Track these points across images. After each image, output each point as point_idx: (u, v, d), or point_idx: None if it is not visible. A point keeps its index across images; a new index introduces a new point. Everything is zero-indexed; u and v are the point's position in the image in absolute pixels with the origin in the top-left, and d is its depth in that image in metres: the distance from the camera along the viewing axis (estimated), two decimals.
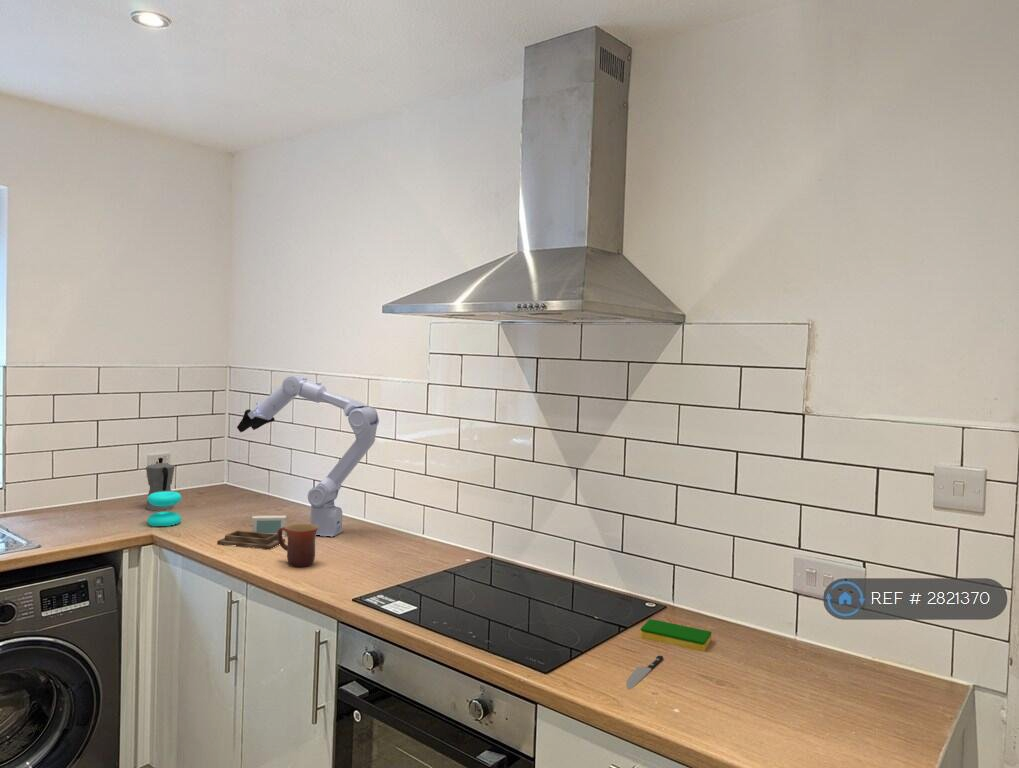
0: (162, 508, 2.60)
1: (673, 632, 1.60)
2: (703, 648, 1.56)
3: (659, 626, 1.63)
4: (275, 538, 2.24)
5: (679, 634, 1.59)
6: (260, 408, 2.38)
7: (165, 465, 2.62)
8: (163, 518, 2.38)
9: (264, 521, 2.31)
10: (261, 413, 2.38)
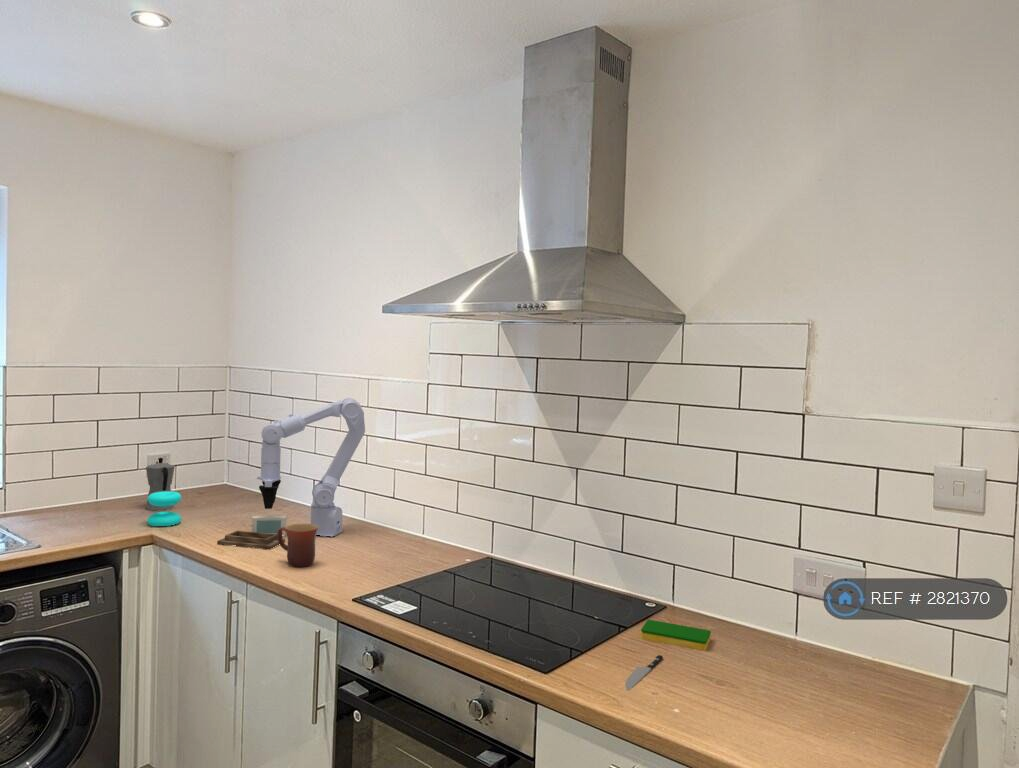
0: (162, 508, 2.60)
1: (674, 632, 1.60)
2: (705, 647, 1.56)
3: (659, 626, 1.63)
4: (275, 538, 2.24)
5: (680, 634, 1.59)
6: (266, 476, 2.30)
7: (165, 465, 2.62)
8: (163, 518, 2.38)
9: (264, 521, 2.31)
10: (271, 478, 2.30)
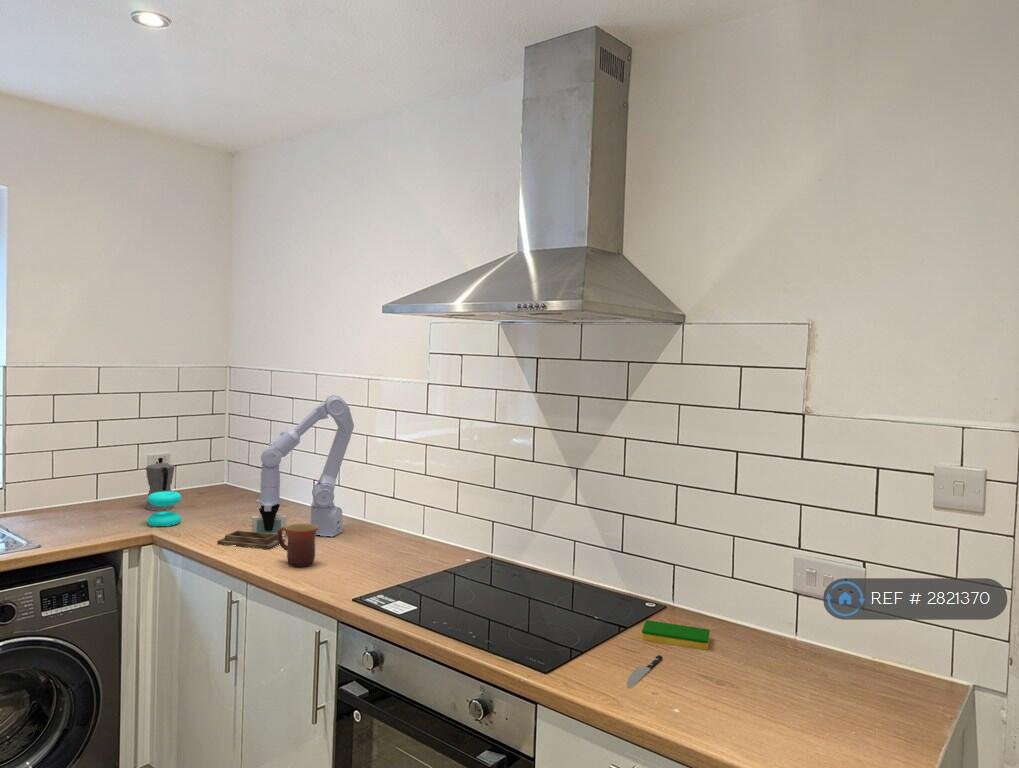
0: (162, 508, 2.60)
1: (674, 632, 1.60)
2: (706, 647, 1.56)
3: (659, 627, 1.63)
4: (275, 538, 2.24)
5: (681, 634, 1.59)
6: (265, 500, 2.30)
7: (165, 465, 2.62)
8: (163, 518, 2.38)
9: None
10: (270, 502, 2.30)
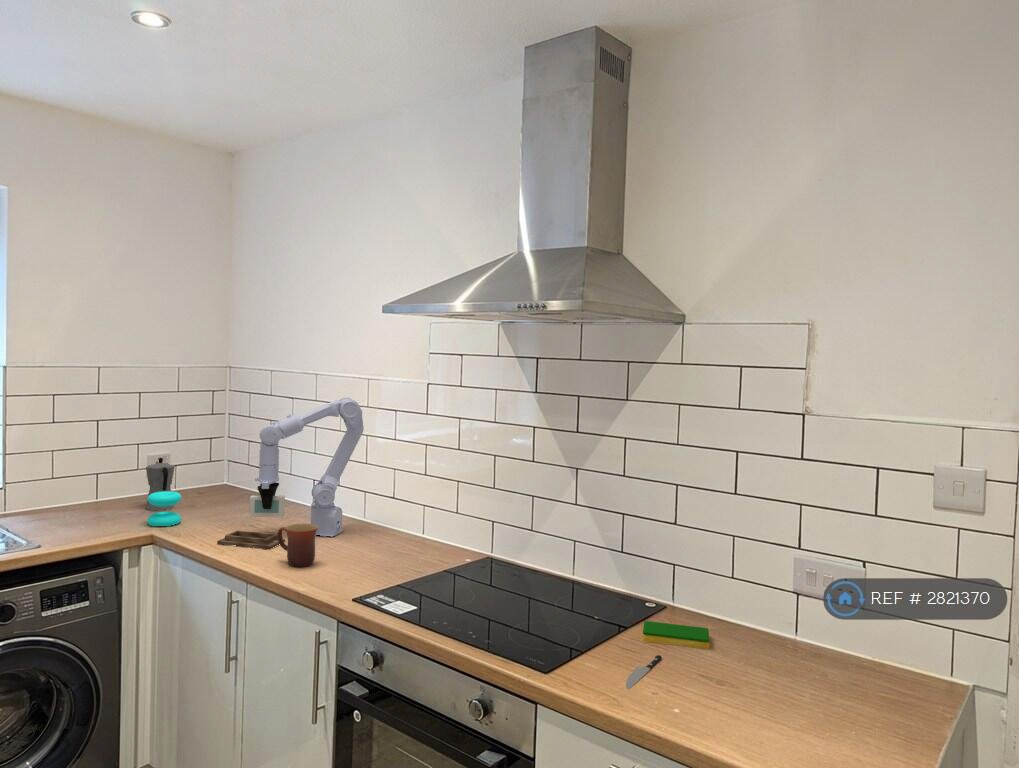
0: (162, 508, 2.60)
1: (675, 632, 1.60)
2: (708, 646, 1.57)
3: (658, 627, 1.62)
4: (275, 538, 2.24)
5: (682, 634, 1.59)
6: (264, 478, 2.29)
7: (165, 465, 2.62)
8: (163, 518, 2.38)
9: None
10: (269, 480, 2.29)
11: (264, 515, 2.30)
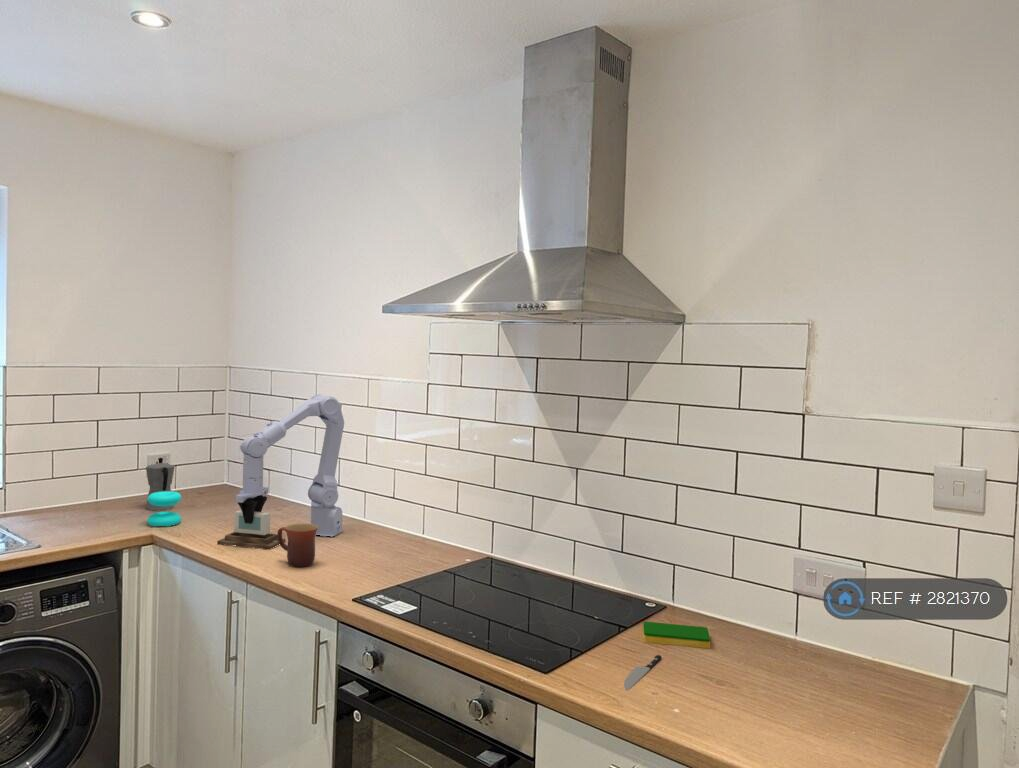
0: (162, 508, 2.60)
1: (676, 632, 1.60)
2: (709, 645, 1.57)
3: (659, 628, 1.62)
4: (275, 538, 2.24)
5: (682, 633, 1.59)
6: (244, 491, 2.20)
7: (165, 465, 2.62)
8: (163, 518, 2.38)
9: None
10: (248, 493, 2.20)
11: (247, 532, 2.22)
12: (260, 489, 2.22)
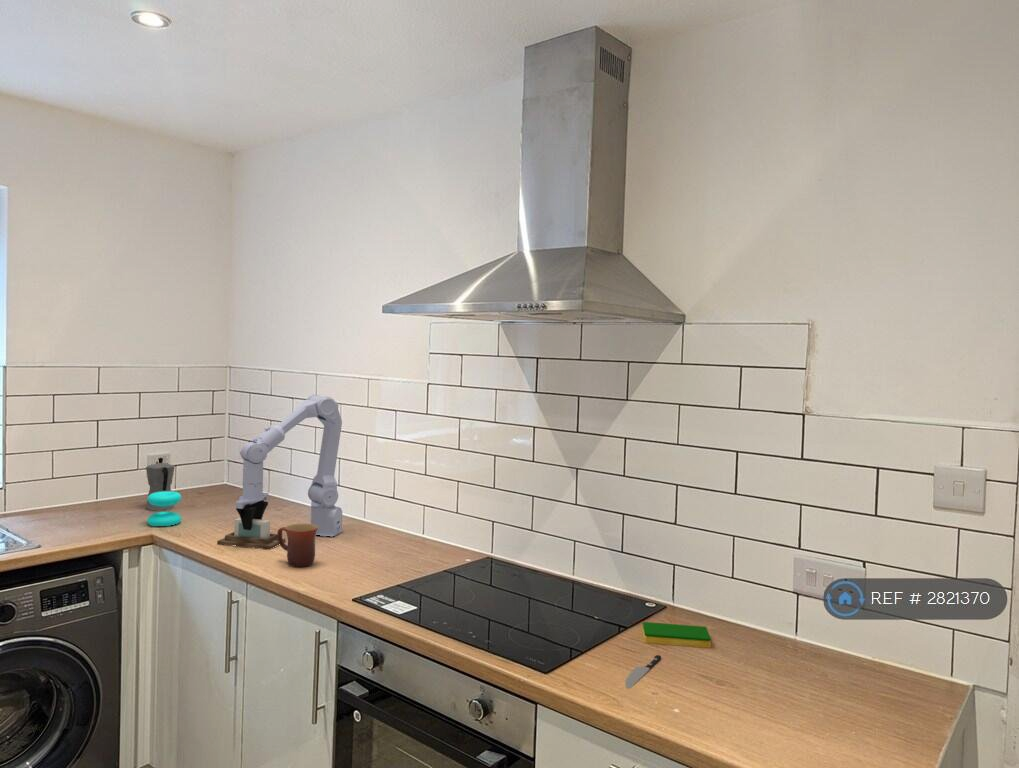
0: (162, 508, 2.60)
1: (676, 633, 1.60)
2: (709, 644, 1.58)
3: (659, 628, 1.62)
4: (275, 538, 2.24)
5: (683, 633, 1.59)
6: (244, 496, 2.20)
7: (165, 465, 2.62)
8: (163, 518, 2.38)
9: None
10: (248, 499, 2.20)
11: None
12: (260, 495, 2.22)
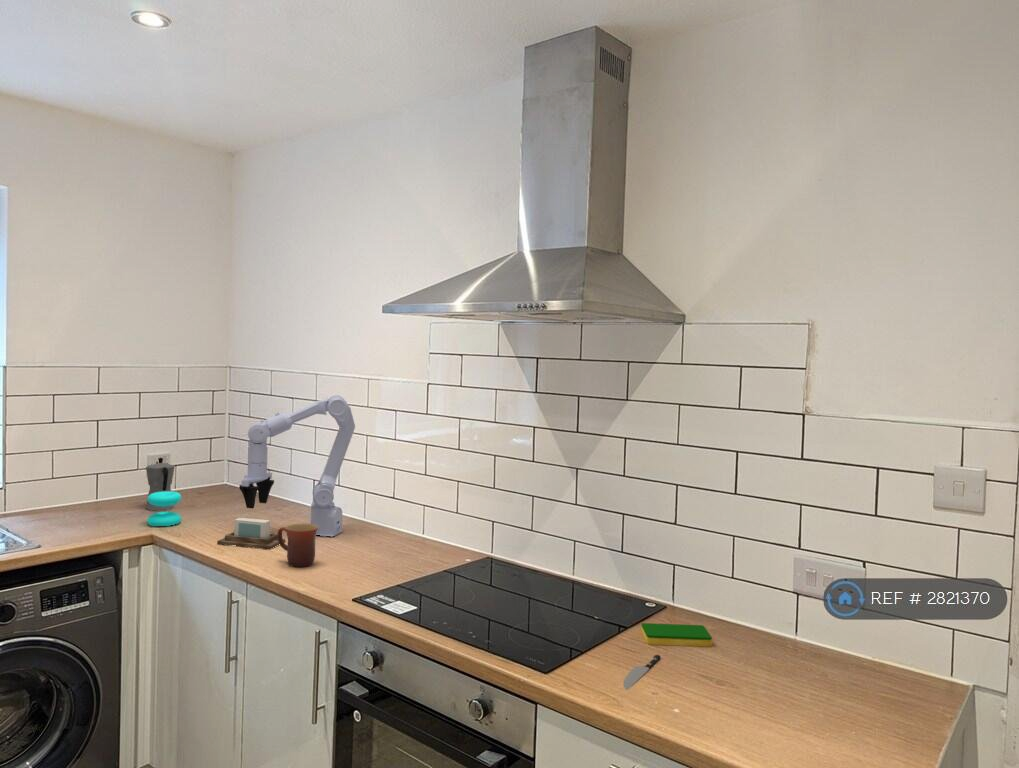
0: (162, 508, 2.60)
1: (677, 633, 1.60)
2: (710, 643, 1.58)
3: (659, 629, 1.61)
4: (275, 538, 2.24)
5: (684, 633, 1.60)
6: (249, 475, 2.29)
7: (165, 465, 2.62)
8: (163, 518, 2.38)
9: (245, 525, 2.22)
10: (254, 478, 2.29)
11: None
12: (264, 474, 2.31)
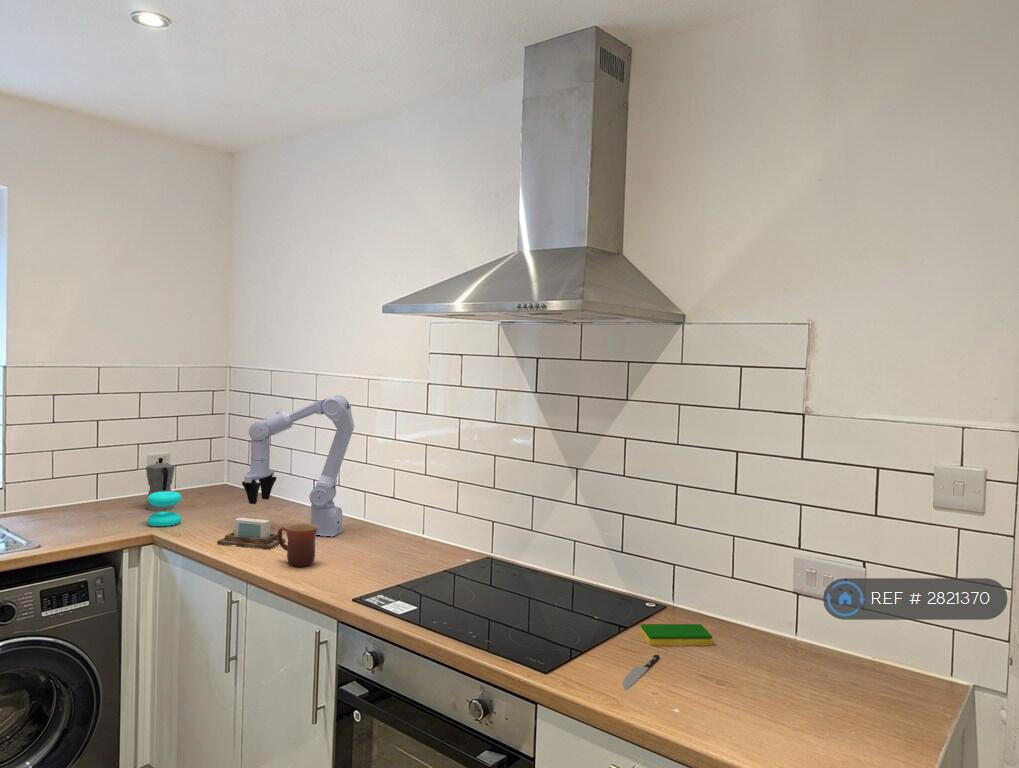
0: (162, 508, 2.60)
1: (678, 633, 1.60)
2: (711, 642, 1.59)
3: (659, 630, 1.61)
4: (275, 538, 2.24)
5: (684, 633, 1.60)
6: (252, 472, 2.35)
7: (165, 465, 2.62)
8: (163, 518, 2.38)
9: (245, 525, 2.22)
10: (256, 474, 2.35)
11: None
12: (267, 470, 2.37)
